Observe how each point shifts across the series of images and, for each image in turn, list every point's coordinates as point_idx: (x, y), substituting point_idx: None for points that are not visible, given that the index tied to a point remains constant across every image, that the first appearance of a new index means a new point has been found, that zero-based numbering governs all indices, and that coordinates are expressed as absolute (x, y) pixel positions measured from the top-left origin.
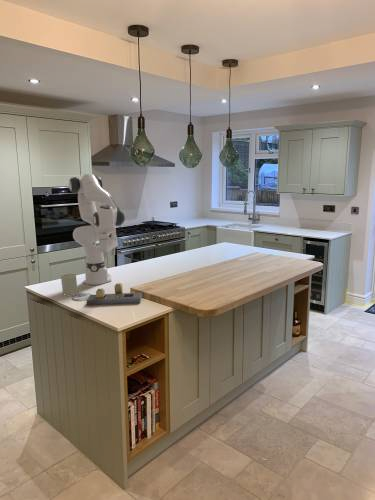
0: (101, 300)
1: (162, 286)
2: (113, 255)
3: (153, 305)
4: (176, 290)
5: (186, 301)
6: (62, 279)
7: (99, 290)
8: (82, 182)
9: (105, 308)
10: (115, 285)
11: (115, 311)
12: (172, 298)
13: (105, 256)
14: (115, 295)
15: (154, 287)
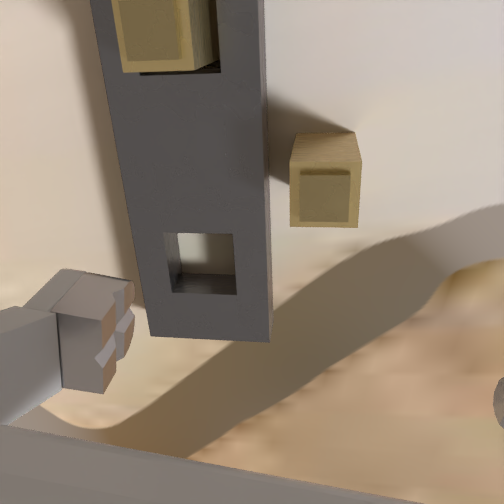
0: (102, 55)
1: (492, 430)
2: (499, 388)
3: (124, 378)
4: (375, 485)
5: None
6: None
7: (124, 30)
8: None
9: (47, 102)
10: (316, 168)
11: (5, 185)
12: (234, 458)
13: (34, 297)
14: (211, 162)
15: (487, 388)
